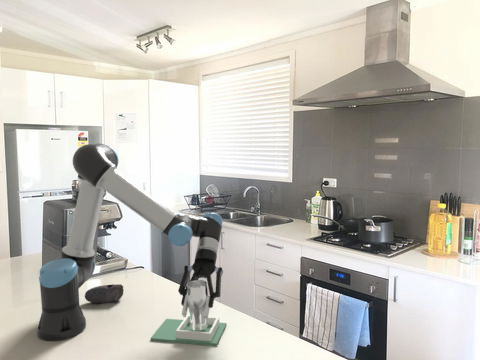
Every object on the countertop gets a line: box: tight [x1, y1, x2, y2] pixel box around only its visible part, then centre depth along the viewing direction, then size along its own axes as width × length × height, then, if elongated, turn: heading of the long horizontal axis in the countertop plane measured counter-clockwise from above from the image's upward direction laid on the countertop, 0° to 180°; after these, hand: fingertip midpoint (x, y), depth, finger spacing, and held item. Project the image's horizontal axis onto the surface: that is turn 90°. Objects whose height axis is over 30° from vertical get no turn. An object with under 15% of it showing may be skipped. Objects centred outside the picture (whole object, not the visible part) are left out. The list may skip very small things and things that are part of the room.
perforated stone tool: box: [84, 283, 124, 304], centre depth 158 cm, size 15×5×7 cm, turn 94°
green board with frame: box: [150, 314, 227, 347], centre depth 132 cm, size 22×14×3 cm, turn 79°
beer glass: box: [186, 279, 209, 331], centre depth 131 cm, size 7×7×15 cm
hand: (194, 316), depth 127 cm, fingers closed on beer glass, 7 cm apart
